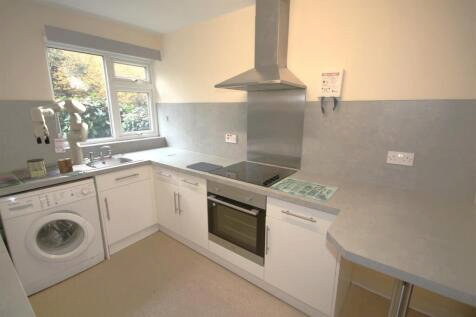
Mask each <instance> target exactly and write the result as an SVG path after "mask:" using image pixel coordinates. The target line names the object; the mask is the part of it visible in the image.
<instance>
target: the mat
mask: <svg viewBox="0 0 476 317" xmlns="http://www.w3.org/2000/svg"><path fill="white" fill-rule="evenodd" d="M82 171H83V170H82V169H81V170H80V169H79V170H73V172H69V173H65V174H61V176H69V175H70V176H71V177H72V176H73V177H74V176H78V175H82V174H85V172H83V173H79V172H82ZM70 176H69V177H70Z"/></svg>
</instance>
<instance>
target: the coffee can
mask: <svg viewBox="0 0 476 317" xmlns="http://www.w3.org/2000/svg"><path fill="white" fill-rule="evenodd" d="M26 163H27V166H28V167H27V168H28V171H29V176H30V179H38V178H43V177H46V176H48V174H47V169H46V165H45V159H44V158H33V159H28V160H26Z"/></svg>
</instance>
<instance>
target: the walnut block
mask: <svg viewBox="0 0 476 317" xmlns="http://www.w3.org/2000/svg"><path fill="white" fill-rule="evenodd" d="M57 165H58V170H59V174H61V175H62V174H65V173H69V172H73V171H74V168H73V165H72V157H69V158H68V157H66V158H62V159H57Z"/></svg>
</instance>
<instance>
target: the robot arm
mask: <svg viewBox="0 0 476 317" xmlns="http://www.w3.org/2000/svg"><path fill="white" fill-rule="evenodd" d="M65 110H66V112H67V114H68V115H69V118H70V122H69V124H70V125H69V130H70V133H68V134H67V135H66V140H67V143H68V147H69V150H70V156H71V157H70V158H71V161H72V166H75V165H76V166H78V165H83V164H84V165H85V164H86V163H87V162H86V161H88V160H89V158H88V157H86V158H84V154H83V150H82V146H81V143H85V142H87V141H88V137H89V126H88V124H87V123H86V122H82V117H81V116H80V115H79V114H85V113H86V106H84V105H83V104H82V103H81V102H78V100H75V99H70V98H69V99H61V100H58V101H55V102H53V103H48V104H44V105H41V106H37V107H32V108H30V113H31V114H30V115H31V120H32V123H33V124H32V125H33V127H34V128H33V129H34V134H33V135H34V137H35V139H36V142H37V145H40V144H43V140H42V138H44V144H45V145H49V144H51V141H50V136H51V135H50V133H49V129H48V127H47V125H46V120H45V119H46V118H50V117H51V118H52V117H53V116H54V114H56V113H61V112H63V111H65Z"/></svg>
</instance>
